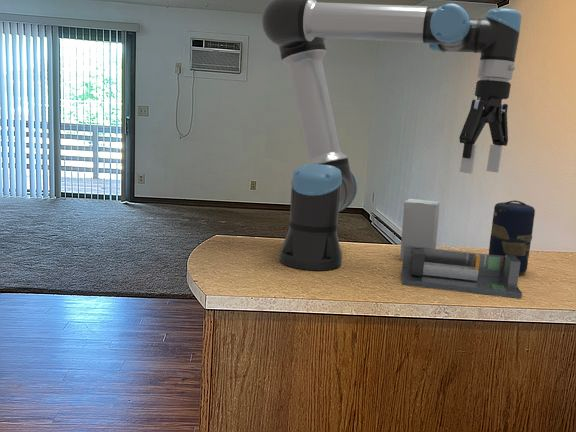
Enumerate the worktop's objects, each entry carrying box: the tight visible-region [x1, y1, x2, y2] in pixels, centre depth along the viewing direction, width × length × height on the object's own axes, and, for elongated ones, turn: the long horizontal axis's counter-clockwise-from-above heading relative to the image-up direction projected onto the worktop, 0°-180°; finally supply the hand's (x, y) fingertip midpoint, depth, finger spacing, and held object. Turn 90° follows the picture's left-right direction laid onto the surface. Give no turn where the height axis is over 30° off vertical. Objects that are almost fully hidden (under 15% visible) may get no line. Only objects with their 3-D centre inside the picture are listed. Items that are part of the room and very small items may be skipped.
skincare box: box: [399, 198, 441, 260], centre depth 146 cm, size 8×7×16 cm
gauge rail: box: [401, 246, 523, 299], centre depth 127 cm, size 25×12×7 cm, turn 79°
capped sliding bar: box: [411, 248, 480, 281], centre depth 128 cm, size 14×5×6 cm, turn 79°
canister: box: [488, 200, 536, 275], centre depth 140 cm, size 10×10×18 cm
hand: (479, 172), depth 133 cm, fingers open, 13 cm apart
